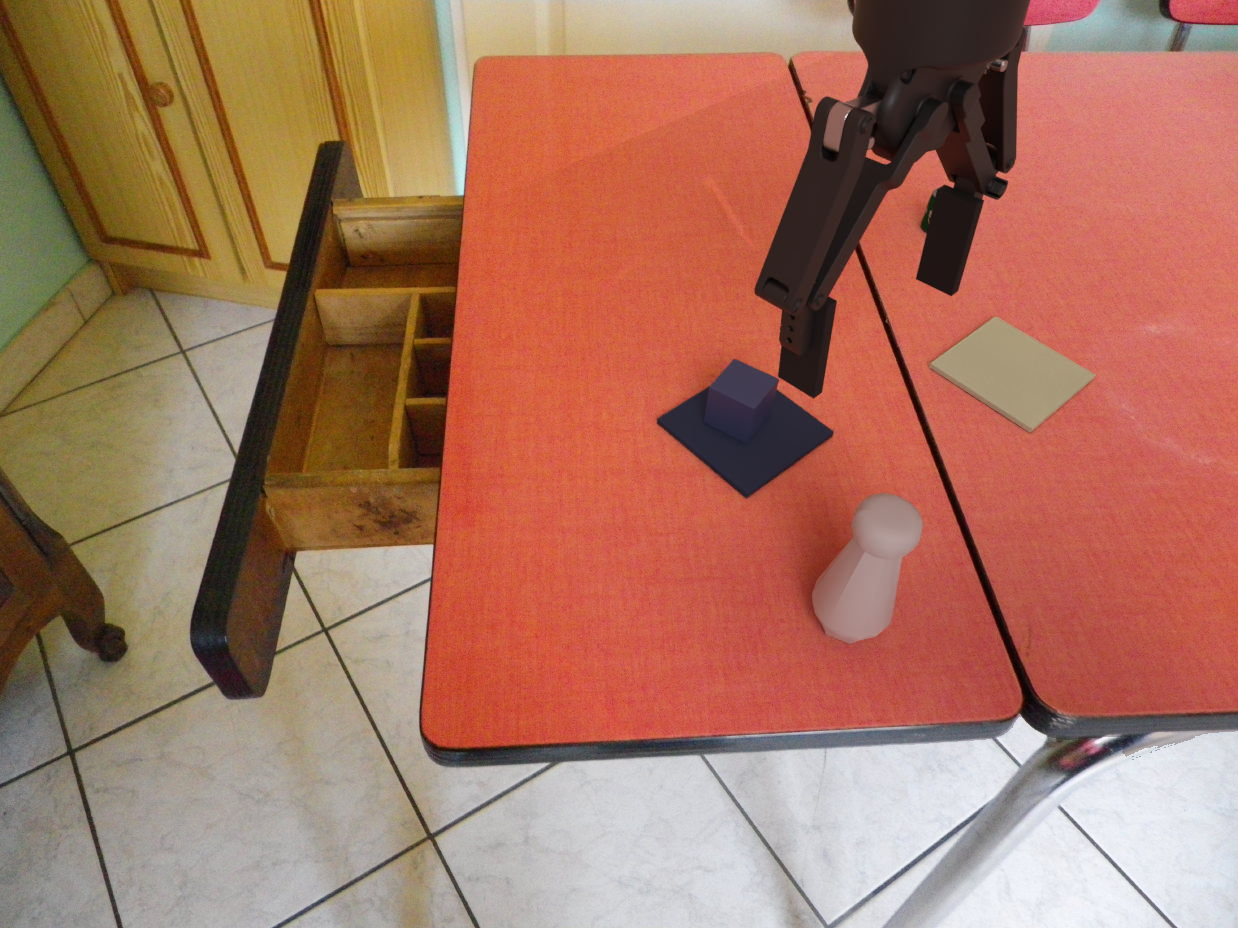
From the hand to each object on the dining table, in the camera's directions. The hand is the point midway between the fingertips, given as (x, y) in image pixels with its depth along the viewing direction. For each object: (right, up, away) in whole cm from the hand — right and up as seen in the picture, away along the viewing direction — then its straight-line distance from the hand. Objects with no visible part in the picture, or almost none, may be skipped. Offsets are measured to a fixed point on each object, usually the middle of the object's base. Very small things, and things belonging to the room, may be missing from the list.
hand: (871, 332), depth 53 cm
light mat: (+22, 0, +28) cm, 35 cm away
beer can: (+20, +18, +43) cm, 51 cm away
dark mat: (-5, -5, +22) cm, 23 cm away
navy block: (-5, -4, +22) cm, 23 cm away
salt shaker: (+1, -20, +10) cm, 22 cm away
